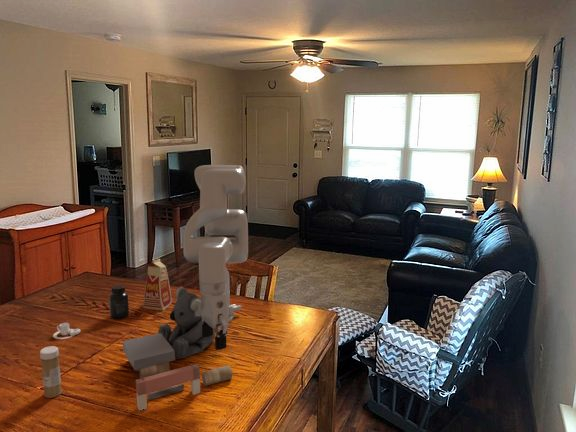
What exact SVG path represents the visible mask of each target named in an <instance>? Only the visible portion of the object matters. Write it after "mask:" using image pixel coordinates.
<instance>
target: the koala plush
mask: <svg viewBox="0 0 576 432" xmlns="http://www.w3.org/2000/svg"><path fill="white" fill-rule="evenodd" d="M176 289H177V290H176V292H175V296H176V301H175V303H174V306H173V308H172V310H171V312H170V314H169V319H170V320H171V321H174V322H175V323H176V325H175V326H174V327H173V330H172V328H171V326H170V324H169V323H164V324H160V325H159V328H158V333H161V334H162V335H163V337H164V338H165V339H166V340H167V342H168V343H169V344H170V346H171V347H172V348H173V349H174V351H175V360H176V359H177V360H182V359H186V358H189V357H191V356H193V355H195V354H199V353H202V352H203V351H204V350H205V349H206V348H208V347H209V346H210V344H212V343H213V341H214V340H215V336H216V333H215V330H214V329H213V335H212V336H208V337H203V336H202V322H201V320H202V317H201V297H199V296H198V295H197V294H195V293H194V292H193V293H192V292H188V290H187V289H186V288H184V287H183V286H179V288H176ZM158 333H157V334H158Z"/></svg>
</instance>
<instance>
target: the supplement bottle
mask: <svg viewBox="0 0 576 432" xmlns="http://www.w3.org/2000/svg"><path fill="white" fill-rule="evenodd" d="M108 300H109V315H110V319H112V320H115V321H117V320H118V321H119V320H124V319H127V318H128V317H129V315H130V306H129V305H130V303H129V295H128V293H127V292H126V287H125V285H122V284H118V285H113V286H111V294H110V295H109V297H108Z"/></svg>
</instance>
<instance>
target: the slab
mask: <svg viewBox="0 0 576 432" xmlns="http://www.w3.org/2000/svg"><path fill="white" fill-rule="evenodd" d="M122 350H123V353H124V355H125V357H126V358H127V359H128V362H129V363H130V365H131V367H132V368H133V370H134V371H136V370H138V369H142V368H146V367H149V366H153V365H157V364H161V363H165V362H172V361H176V359H175V351H174V349H173V348H172V346H170V344H169V343H168V342H167V340H166V339H165V338H164V337H163V335H162V334H161V333H154V334H151V335H150V334H149V335H145V336H142V337H136V338H132V339H128V340H123V341H122Z"/></svg>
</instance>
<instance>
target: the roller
mask: <svg viewBox="0 0 576 432" xmlns="http://www.w3.org/2000/svg"><path fill="white" fill-rule="evenodd" d="M232 378H233V371H232V368H231V366H230V365H229V364H227V365H224V366H220V367H217V368H213V369H209V370H205V371H202V372H201V381H202V384H203V385H204V387H207V386H211V385H214V384H218V383H222V382H224V381H229V380H232Z"/></svg>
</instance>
